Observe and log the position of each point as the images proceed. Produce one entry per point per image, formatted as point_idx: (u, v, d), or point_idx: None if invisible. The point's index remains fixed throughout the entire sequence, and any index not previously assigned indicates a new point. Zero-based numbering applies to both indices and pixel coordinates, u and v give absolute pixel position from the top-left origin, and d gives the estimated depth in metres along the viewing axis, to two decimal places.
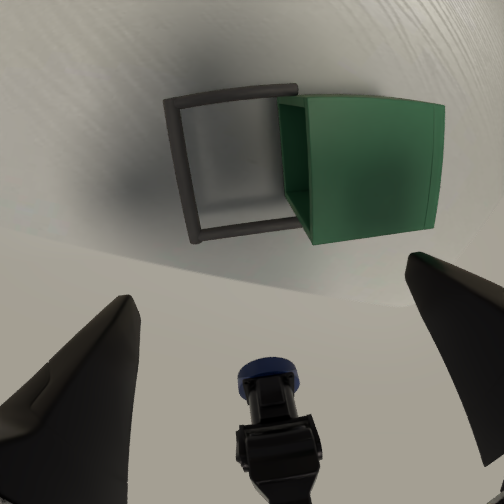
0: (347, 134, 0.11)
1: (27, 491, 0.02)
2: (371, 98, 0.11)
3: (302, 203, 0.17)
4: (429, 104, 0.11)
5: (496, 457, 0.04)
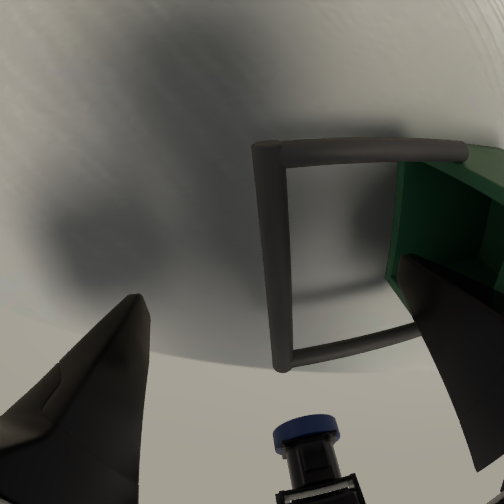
0: None
1: (40, 497, 0.02)
2: None
3: None
4: None
5: (488, 463, 0.04)
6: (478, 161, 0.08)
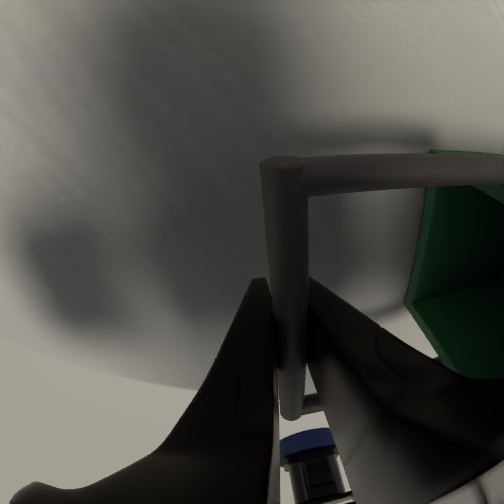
0: None
1: None
2: None
3: (446, 335, 0.09)
4: None
5: None
6: None
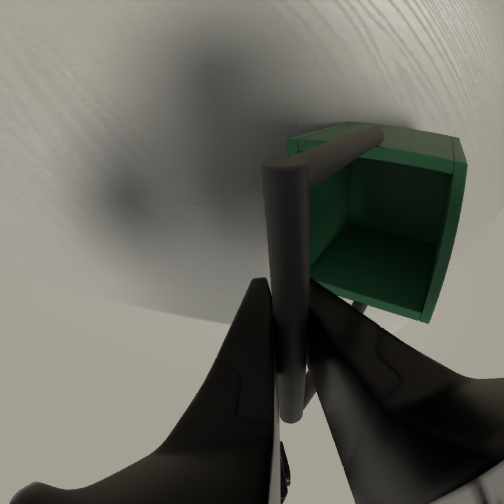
0: None
1: None
2: (462, 150, 0.09)
3: (349, 283, 0.13)
4: (459, 141, 0.11)
5: None
6: None
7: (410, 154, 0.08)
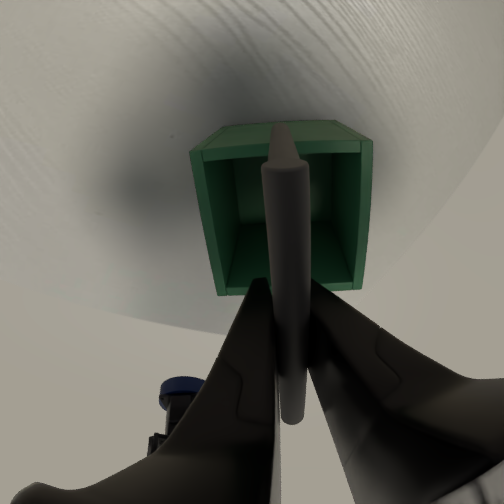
0: None
1: None
2: (353, 130, 0.12)
3: None
4: (339, 123, 0.15)
5: None
6: None
7: (319, 143, 0.10)
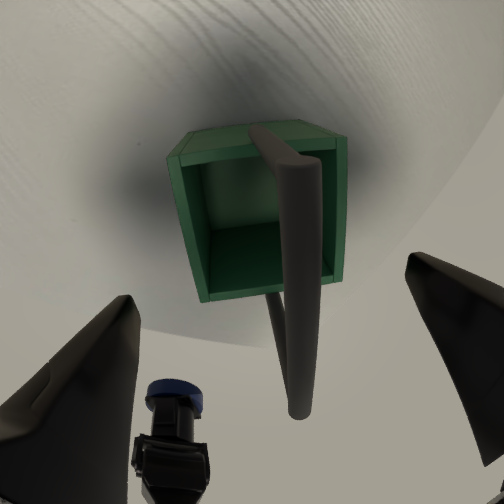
0: None
1: (27, 491, 0.02)
2: (322, 128, 0.13)
3: (255, 280, 0.14)
4: (304, 122, 0.16)
5: (496, 457, 0.04)
6: (249, 137, 0.12)
7: (296, 142, 0.10)
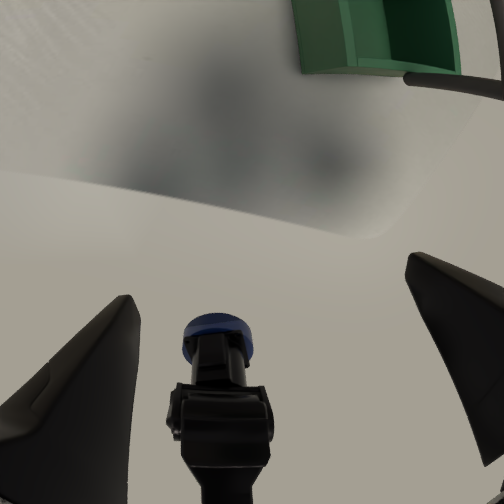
0: None
1: (27, 492, 0.02)
2: None
3: None
4: None
5: (496, 457, 0.04)
6: None
7: None
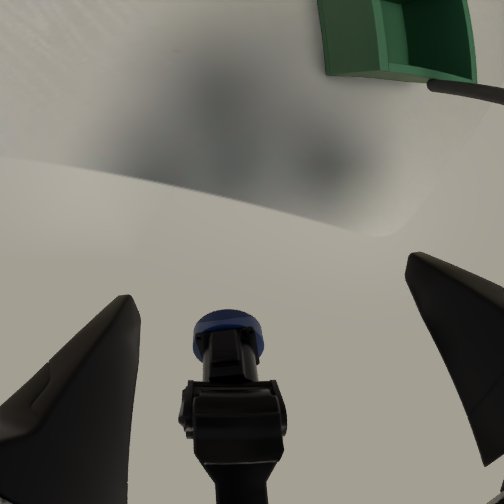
0: None
1: (27, 491, 0.02)
2: None
3: None
4: None
5: (496, 457, 0.04)
6: None
7: None
